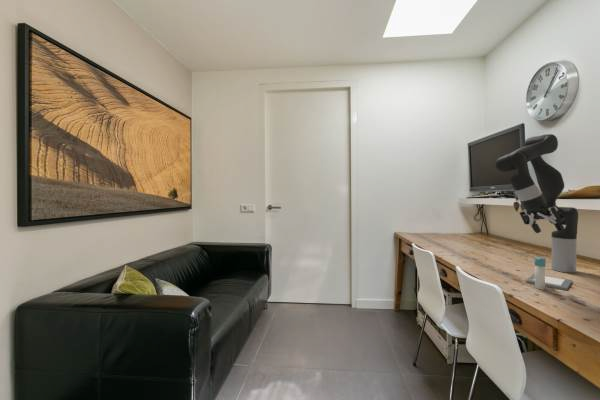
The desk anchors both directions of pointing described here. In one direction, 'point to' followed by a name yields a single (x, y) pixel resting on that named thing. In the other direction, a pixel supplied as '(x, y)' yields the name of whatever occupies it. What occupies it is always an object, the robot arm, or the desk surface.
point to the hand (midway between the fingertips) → (549, 231)
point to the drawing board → (552, 282)
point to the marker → (539, 272)
